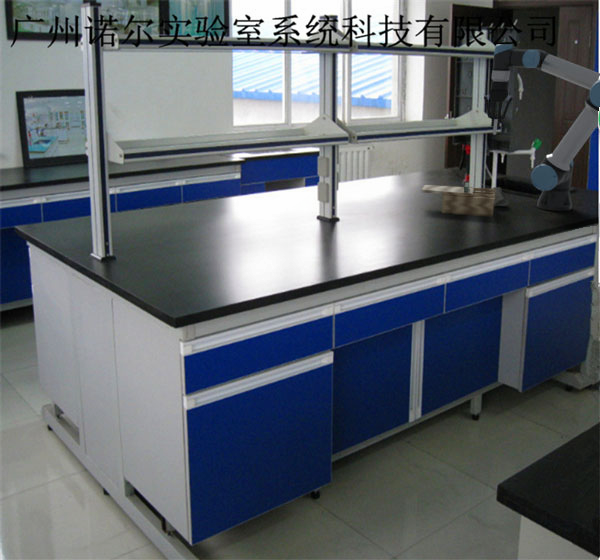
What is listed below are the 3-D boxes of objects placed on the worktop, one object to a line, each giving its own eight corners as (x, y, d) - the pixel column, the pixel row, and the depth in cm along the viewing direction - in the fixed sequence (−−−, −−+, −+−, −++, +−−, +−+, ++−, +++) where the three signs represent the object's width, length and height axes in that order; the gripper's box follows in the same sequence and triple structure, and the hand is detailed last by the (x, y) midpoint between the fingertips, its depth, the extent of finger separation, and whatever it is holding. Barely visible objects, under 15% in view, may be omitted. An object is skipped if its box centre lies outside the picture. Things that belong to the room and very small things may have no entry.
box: (493, 210, 324) (495, 189, 321) (492, 216, 311) (494, 195, 308) (444, 206, 330) (445, 185, 327) (441, 212, 317) (443, 191, 314)
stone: (500, 182, 333) (488, 184, 327) (513, 199, 330) (501, 201, 323) (487, 196, 340) (475, 198, 333) (500, 212, 336) (487, 215, 330)
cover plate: (473, 190, 323) (474, 182, 322) (472, 196, 312) (472, 187, 311) (424, 187, 329) (425, 179, 327) (421, 192, 318) (422, 184, 316)
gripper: (515, 80, 321) (509, 133, 328) (485, 79, 324) (480, 132, 332) (515, 81, 314) (509, 135, 321) (484, 80, 317) (479, 134, 325)
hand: (494, 134), depth 326 cm, fingers closed
